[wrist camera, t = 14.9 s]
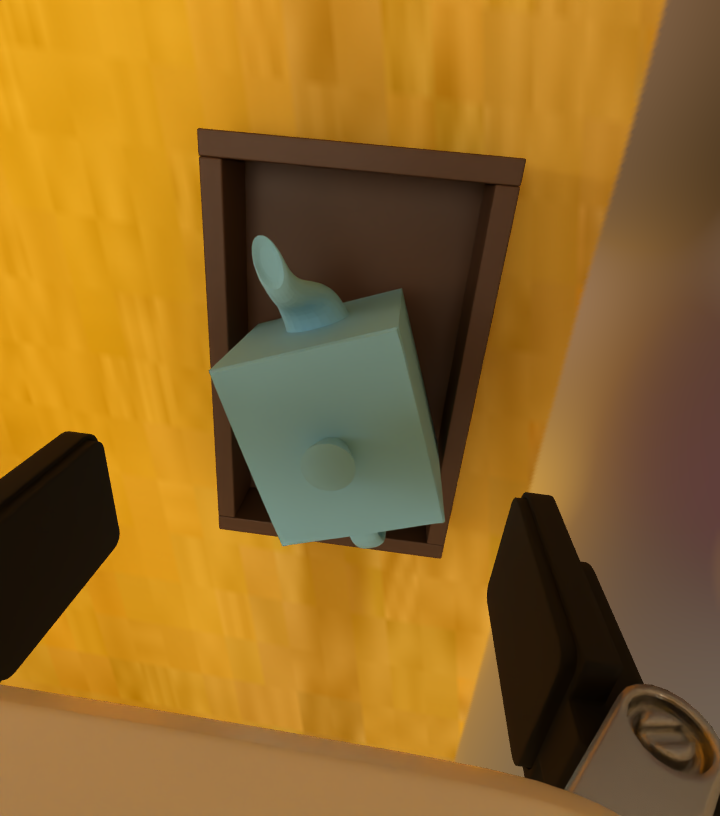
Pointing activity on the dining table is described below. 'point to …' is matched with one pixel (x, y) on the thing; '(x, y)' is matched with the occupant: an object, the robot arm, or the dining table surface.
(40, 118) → the dining table surface
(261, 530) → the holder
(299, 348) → the teapot
